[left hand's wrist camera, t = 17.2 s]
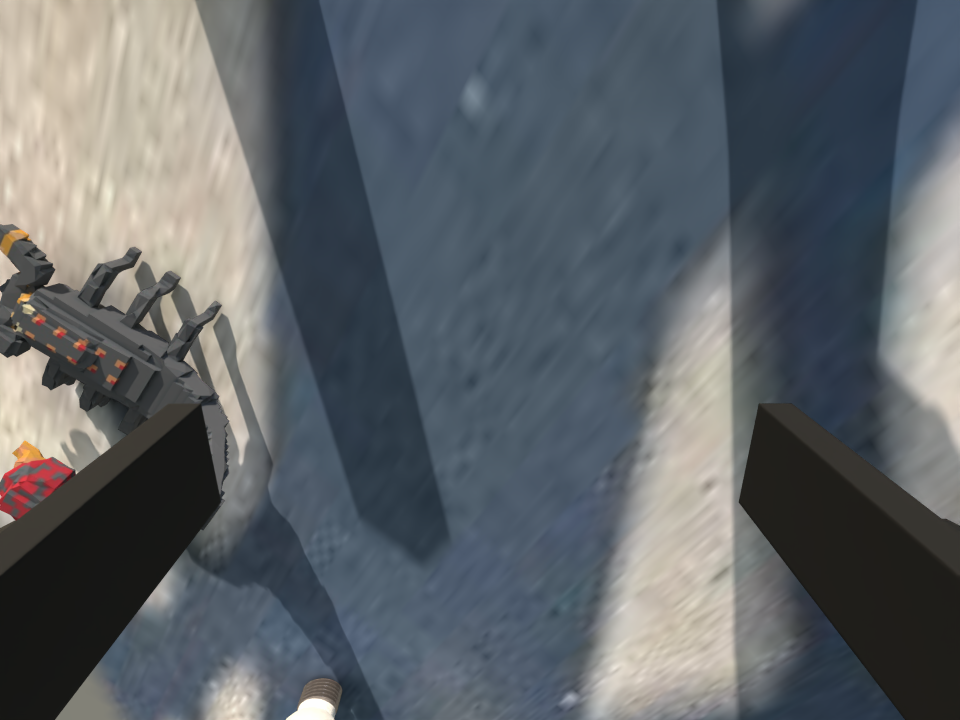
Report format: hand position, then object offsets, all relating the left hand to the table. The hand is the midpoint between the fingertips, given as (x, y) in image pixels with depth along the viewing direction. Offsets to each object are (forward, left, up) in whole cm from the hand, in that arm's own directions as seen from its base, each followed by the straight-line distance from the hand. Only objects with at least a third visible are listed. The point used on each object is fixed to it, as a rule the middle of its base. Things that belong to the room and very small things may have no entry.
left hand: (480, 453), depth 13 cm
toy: (+19, -21, -29) cm, 40 cm away
